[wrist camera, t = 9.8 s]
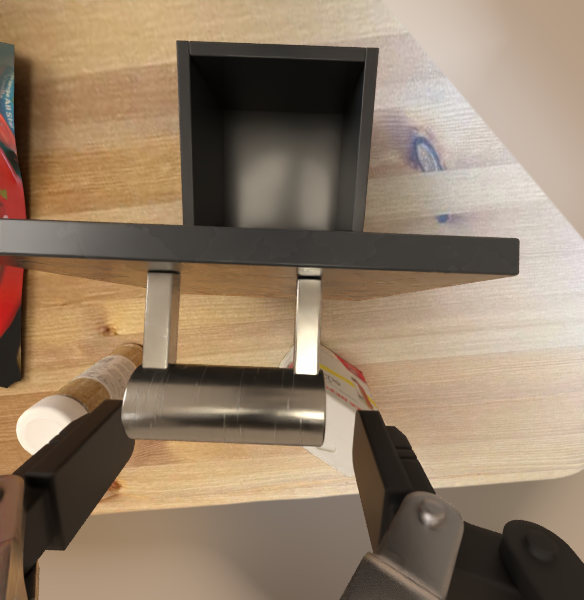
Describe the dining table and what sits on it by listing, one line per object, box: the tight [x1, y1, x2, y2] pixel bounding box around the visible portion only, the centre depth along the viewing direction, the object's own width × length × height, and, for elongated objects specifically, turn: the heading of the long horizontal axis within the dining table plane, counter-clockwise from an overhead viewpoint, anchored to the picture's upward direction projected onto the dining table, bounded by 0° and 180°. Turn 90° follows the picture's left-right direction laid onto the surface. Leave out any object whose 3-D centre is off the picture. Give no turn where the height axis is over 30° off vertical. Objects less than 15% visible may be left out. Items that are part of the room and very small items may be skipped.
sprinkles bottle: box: [16, 343, 143, 455], centre depth 30 cm, size 5×5×13 cm
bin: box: [176, 40, 379, 232], centre depth 27 cm, size 16×13×11 cm
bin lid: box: [0, 218, 519, 447], centre depth 15 cm, size 16×13×5 cm
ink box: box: [279, 344, 379, 478], centre depth 31 cm, size 9×5×12 cm, turn 54°
